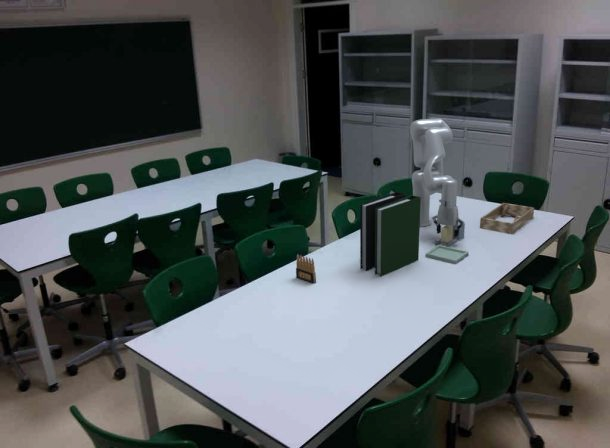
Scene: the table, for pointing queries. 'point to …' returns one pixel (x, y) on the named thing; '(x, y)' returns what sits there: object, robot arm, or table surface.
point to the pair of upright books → (389, 232)
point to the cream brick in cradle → (446, 234)
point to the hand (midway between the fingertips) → (447, 234)
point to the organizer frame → (506, 227)
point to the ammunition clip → (305, 269)
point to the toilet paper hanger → (509, 212)
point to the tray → (447, 254)
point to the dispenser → (459, 237)
